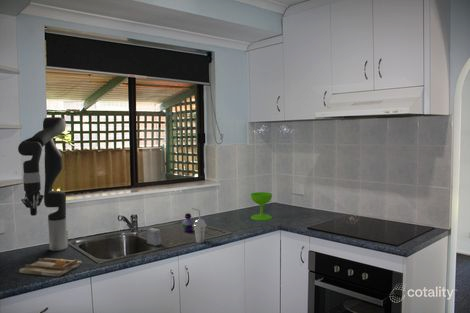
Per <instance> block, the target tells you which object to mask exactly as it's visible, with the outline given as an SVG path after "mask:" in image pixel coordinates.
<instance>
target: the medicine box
mask: <svg viewBox="0 0 470 313" xmlns="http://www.w3.org/2000/svg"><path fill="white" fill-rule="evenodd" d="M161 236H162V235H161V229H159V228H153V227H151V228H147V229H146V243H147V244H148V245H151V246H159V245H161V244H162V238H161Z"/></svg>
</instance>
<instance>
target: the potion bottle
mask: <svg viewBox="0 0 470 313" xmlns="http://www.w3.org/2000/svg"><path fill="white" fill-rule="evenodd" d="M184 218H185V219H184V220H182V221H181V223H182V227H183V231H184V233H193V230H194V227H193V224H194V222H195V220H193V219H191V218H192V215H191V213H187V212H186V213H185V215H184Z"/></svg>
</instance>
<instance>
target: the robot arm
mask: <svg viewBox="0 0 470 313" xmlns="http://www.w3.org/2000/svg"><path fill="white" fill-rule="evenodd" d="M66 123H67V122H66V120H65V119H64V118H63V117H60V116H57V117H56V116H54V117H53V116H51V117H48V116H47V117H45V118H44V119H43V121H42V129H41V130H40V131H37V132H36V133H35V134H34V135H33V136H31V137H29V138H27V139H24V140H22V141H20V143H19V145H18V147H17V152H18V153H19V154H20V155H21V156H25V157H30V156H32V157H31V159H28V160H25V161H23V164H22V166H23V167H22V169H23V191H24V192H25V194H24V198H21V202H22V204H23V205H24V206H25V208H27V209H29V211H30V215H31V216H33V217H34V216H37V214H38V207H39V206H41V204H42V201H43V204H44V206H45V208H57V210H56V211H54V212H51V213H49V214H48V216H47V224H48V243H49V244H48V245H49V250H50V251H53V252H54V251H55V252H56V251H63V250H65V249H67V248H68V247H69V237H68V236H69V233H68V232H69V231H68V230H67V216H66V215H67V213H66V212H67V208H66V207H67V206H66V205H67V204H66V203H67V196H66V192H65V191H64V190H53V185H54V183H55V181H56V179H57V177H58V176H60V175H59V174H60V173H61V171H62V170H63V155H62V153H61V151H60V150H59V149H58V147H57V146H56V144H55V142H54V139H53V138H56V137H57V136H58V135H61V134H62V133H64V132H65V130H66V128H67V124H66ZM43 147H44V190H43V191H44V192H43V194H41V192H40V191H41V189H42V188H41V187H42V186H41V174H40V159H41V156H42V152H43Z"/></svg>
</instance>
